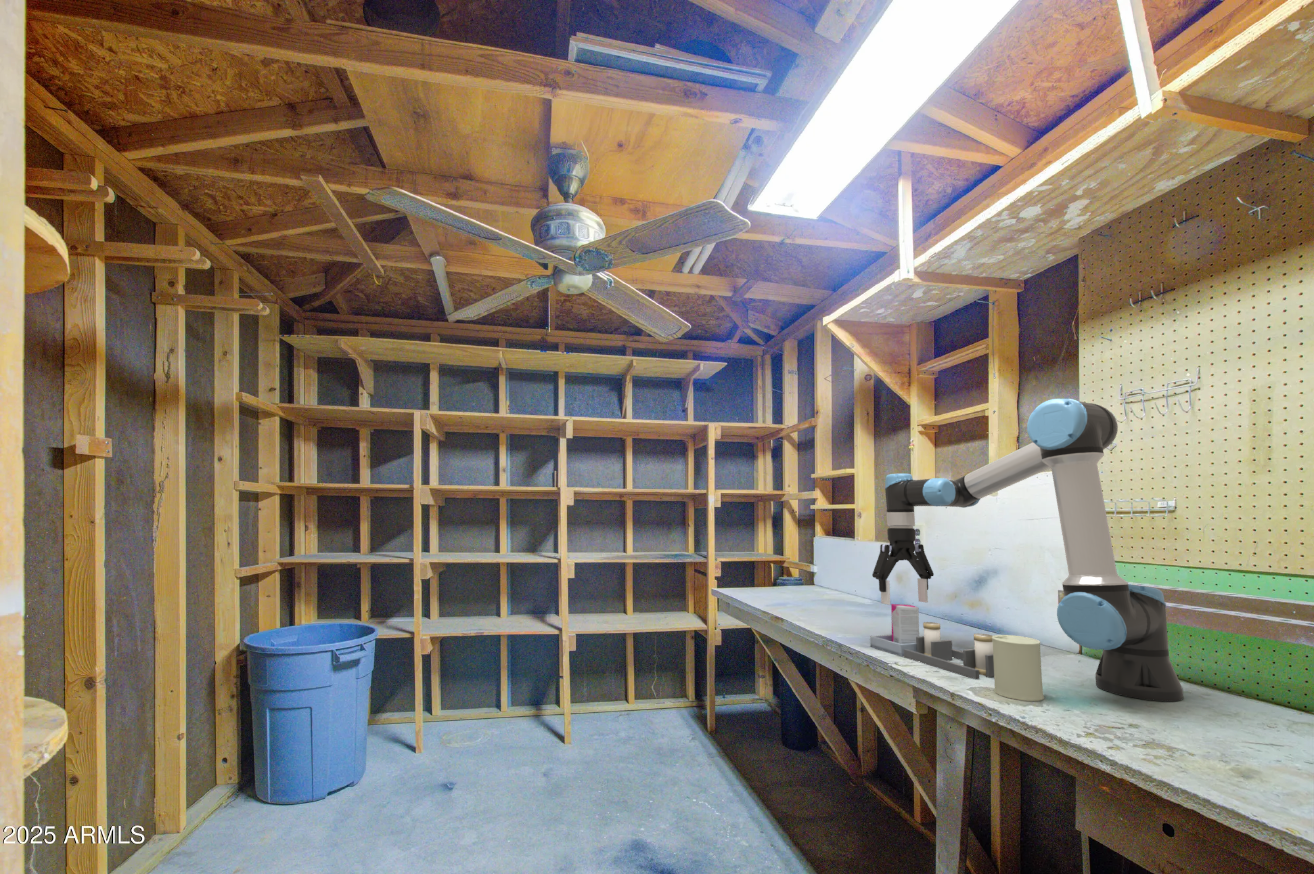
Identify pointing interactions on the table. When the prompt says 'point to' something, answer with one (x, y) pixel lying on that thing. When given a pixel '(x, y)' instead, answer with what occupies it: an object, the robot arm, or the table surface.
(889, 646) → the tray
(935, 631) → the cylinder
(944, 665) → the holder
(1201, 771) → the table surface
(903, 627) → the supplement box
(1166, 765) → the table surface
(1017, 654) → the can
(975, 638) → the cylinder
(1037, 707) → the table surface
